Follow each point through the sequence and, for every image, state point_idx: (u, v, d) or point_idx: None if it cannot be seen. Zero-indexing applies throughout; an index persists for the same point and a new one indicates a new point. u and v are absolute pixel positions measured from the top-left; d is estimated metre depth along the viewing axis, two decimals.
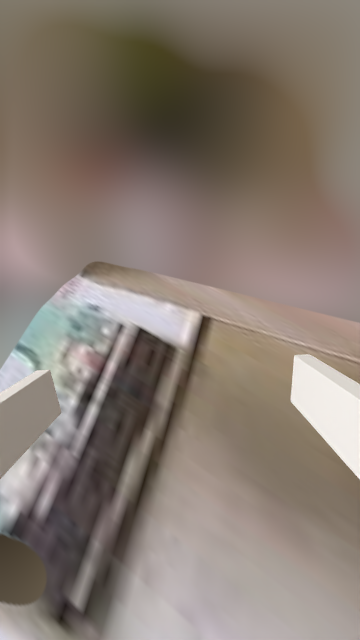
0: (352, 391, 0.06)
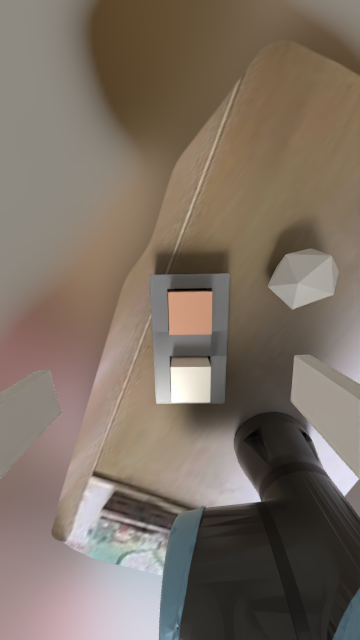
0: (352, 391, 0.06)
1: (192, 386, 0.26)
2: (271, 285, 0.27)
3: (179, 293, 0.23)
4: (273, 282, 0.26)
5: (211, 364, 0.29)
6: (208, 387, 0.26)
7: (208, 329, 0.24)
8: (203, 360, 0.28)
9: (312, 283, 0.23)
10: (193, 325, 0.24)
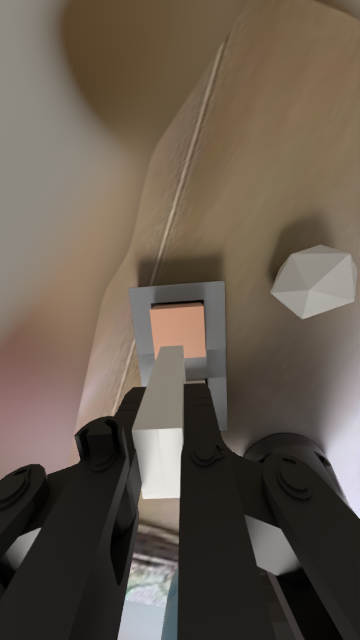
0: (171, 368, 0.09)
1: None
2: (275, 291, 0.22)
3: (162, 310, 0.19)
4: (278, 288, 0.22)
5: (209, 387, 0.24)
6: None
7: (201, 350, 0.20)
8: None
9: (327, 288, 0.18)
10: (183, 347, 0.20)
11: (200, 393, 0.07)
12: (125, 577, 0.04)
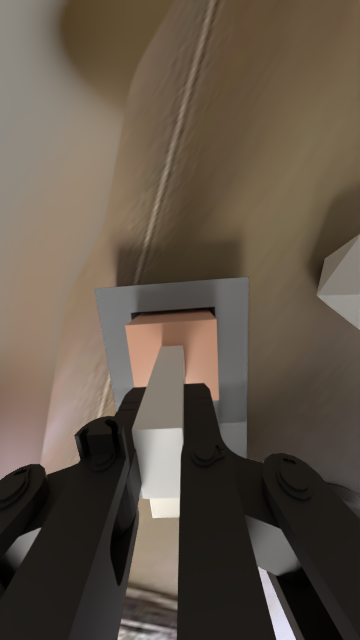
0: (171, 368, 0.09)
1: None
2: (327, 294, 0.14)
3: (147, 326, 0.11)
4: (332, 289, 0.14)
5: (221, 436, 0.16)
6: None
7: (211, 390, 0.12)
8: None
9: None
10: None
11: (200, 393, 0.07)
12: (125, 577, 0.04)
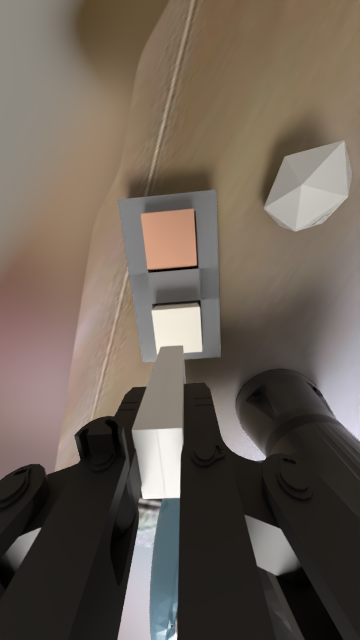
0: (171, 368, 0.09)
1: (179, 332, 0.22)
2: (268, 204, 0.22)
3: (153, 214, 0.19)
4: (271, 199, 0.21)
5: (202, 310, 0.24)
6: (199, 333, 0.22)
7: (192, 258, 0.21)
8: (191, 304, 0.23)
9: (320, 182, 0.18)
10: (174, 255, 0.21)
11: (200, 393, 0.07)
12: (125, 577, 0.04)
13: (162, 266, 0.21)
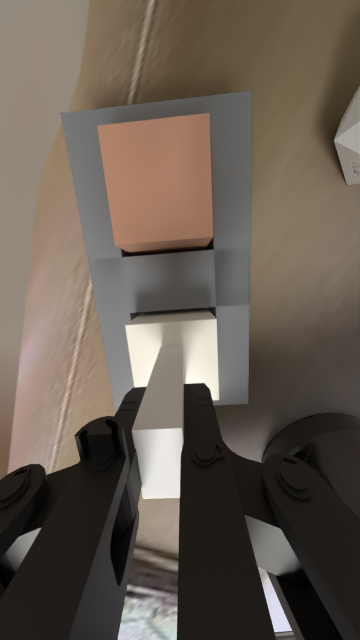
0: (171, 368, 0.09)
1: None
2: (348, 128, 0.12)
3: (125, 126, 0.09)
4: (356, 116, 0.11)
5: (218, 325, 0.14)
6: (213, 367, 0.12)
7: (204, 223, 0.10)
8: (200, 313, 0.13)
9: None
10: (168, 216, 0.10)
11: (200, 393, 0.07)
12: (125, 577, 0.04)
13: (144, 240, 0.10)
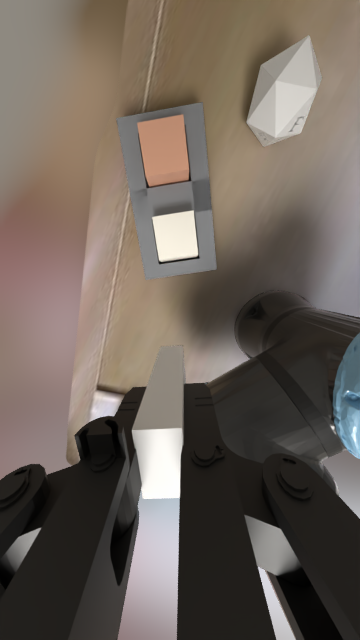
0: (171, 368, 0.09)
1: (177, 237, 0.25)
2: (250, 116, 0.24)
3: (148, 122, 0.22)
4: (252, 110, 0.24)
5: (197, 222, 0.27)
6: (194, 236, 0.25)
7: (184, 163, 0.23)
8: None
9: (291, 77, 0.20)
10: (168, 161, 0.23)
11: (200, 393, 0.07)
12: (125, 577, 0.04)
13: (158, 173, 0.24)
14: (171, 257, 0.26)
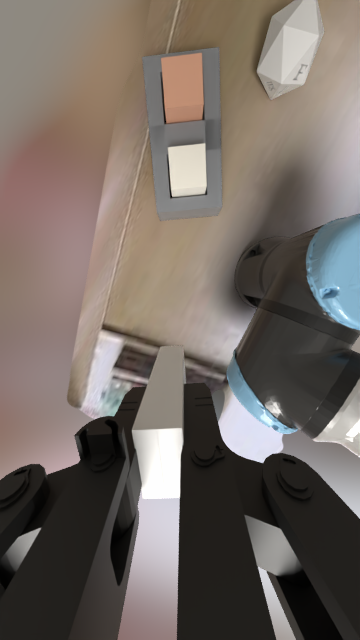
0: (171, 368, 0.09)
1: (189, 168, 0.28)
2: (260, 64, 0.28)
3: (171, 57, 0.25)
4: (262, 58, 0.27)
5: (207, 160, 0.30)
6: (204, 168, 0.28)
7: (200, 98, 0.26)
8: None
9: (297, 23, 0.24)
10: (186, 95, 0.26)
11: (200, 393, 0.07)
12: (125, 577, 0.04)
13: (176, 106, 0.27)
14: (182, 187, 0.29)
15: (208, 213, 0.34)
